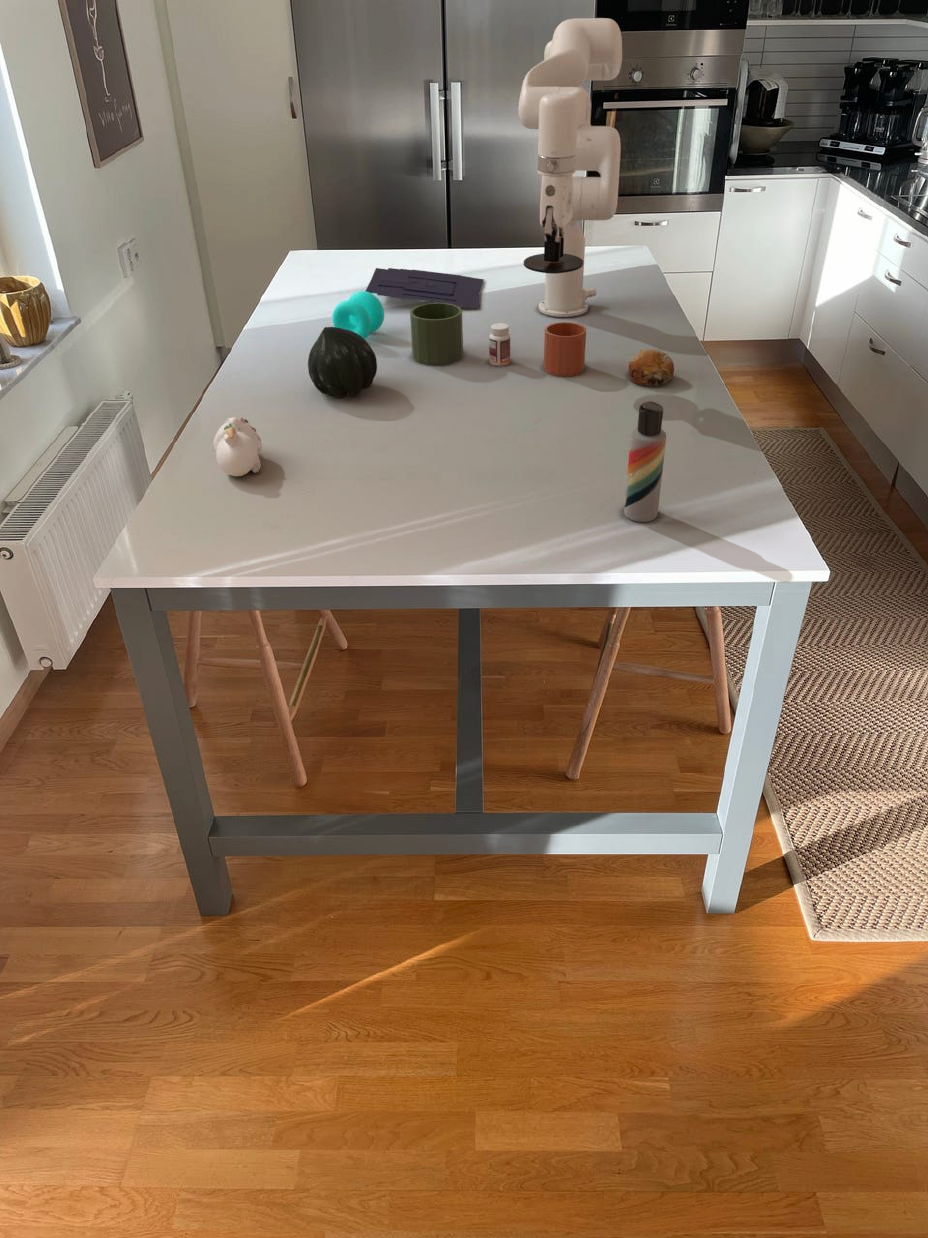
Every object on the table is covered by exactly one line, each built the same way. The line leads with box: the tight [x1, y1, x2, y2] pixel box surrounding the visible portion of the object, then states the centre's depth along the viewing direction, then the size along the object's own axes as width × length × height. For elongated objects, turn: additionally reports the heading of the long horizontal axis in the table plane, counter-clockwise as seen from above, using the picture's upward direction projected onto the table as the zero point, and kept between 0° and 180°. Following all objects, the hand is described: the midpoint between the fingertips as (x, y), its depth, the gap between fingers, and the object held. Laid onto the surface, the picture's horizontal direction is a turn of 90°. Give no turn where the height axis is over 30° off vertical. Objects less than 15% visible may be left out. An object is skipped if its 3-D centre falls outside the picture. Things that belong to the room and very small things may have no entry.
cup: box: [543, 321, 587, 377], centre depth 212 cm, size 9×9×9 cm
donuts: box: [332, 290, 385, 340], centre depth 231 cm, size 10×10×10 cm
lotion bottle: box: [623, 401, 667, 523], centre depth 157 cm, size 6×6×20 cm
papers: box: [365, 267, 485, 309], centre depth 257 cm, size 24×30×4 cm
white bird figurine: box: [213, 416, 263, 477], centre depth 178 cm, size 10×8×15 cm
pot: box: [409, 302, 464, 367], centre depth 219 cm, size 12×12×10 cm
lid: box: [523, 236, 583, 274], centre depth 201 cm, size 13×13×6 cm
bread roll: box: [628, 348, 675, 387], centre depth 208 cm, size 10×10×8 cm
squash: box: [307, 326, 378, 399], centre depth 204 cm, size 14×15×15 cm
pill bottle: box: [488, 322, 511, 367], centre depth 216 cm, size 5×5×8 cm
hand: (553, 258), depth 201 cm, fingers closed on lid, 2 cm apart
